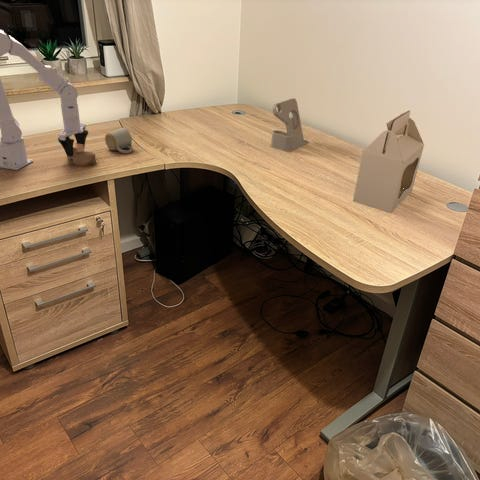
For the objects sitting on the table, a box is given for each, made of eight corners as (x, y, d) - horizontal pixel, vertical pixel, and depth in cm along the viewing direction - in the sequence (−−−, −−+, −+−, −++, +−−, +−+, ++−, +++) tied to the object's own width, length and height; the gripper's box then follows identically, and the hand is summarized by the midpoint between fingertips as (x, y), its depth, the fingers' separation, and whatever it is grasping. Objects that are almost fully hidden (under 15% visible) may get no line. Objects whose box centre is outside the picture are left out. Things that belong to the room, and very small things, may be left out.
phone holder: (288, 152, 193) (293, 109, 184) (268, 146, 198) (271, 103, 189) (309, 142, 205) (315, 101, 196) (290, 137, 210) (294, 96, 201)
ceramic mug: (104, 148, 186) (102, 129, 182) (121, 143, 192) (120, 125, 187) (120, 156, 180) (119, 137, 176) (137, 151, 186) (136, 132, 182)
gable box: (376, 180, 173) (393, 104, 158) (412, 191, 166) (433, 112, 152) (352, 201, 157) (368, 118, 142) (390, 213, 150) (411, 127, 136)
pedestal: (88, 168, 169) (87, 160, 167) (68, 165, 170) (67, 157, 169) (100, 161, 175) (99, 153, 174) (81, 157, 177) (80, 150, 175)
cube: (78, 159, 175) (76, 148, 173) (67, 157, 176) (65, 146, 174) (84, 155, 179) (83, 144, 176) (74, 154, 180) (72, 142, 177)
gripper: (69, 124, 163) (74, 161, 170) (91, 113, 175) (95, 148, 182) (51, 121, 164) (57, 158, 171) (74, 110, 176) (79, 145, 183)
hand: (75, 152), depth 176 cm, fingers open, 7 cm apart
